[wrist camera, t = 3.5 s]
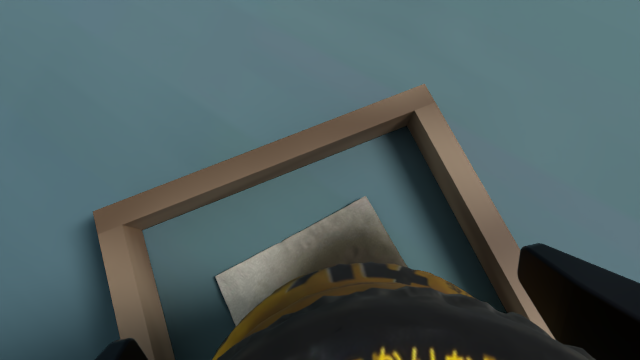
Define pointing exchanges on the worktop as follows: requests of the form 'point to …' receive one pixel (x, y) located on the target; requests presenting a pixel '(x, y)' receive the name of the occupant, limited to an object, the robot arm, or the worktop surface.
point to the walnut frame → (285, 156)
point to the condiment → (364, 304)
